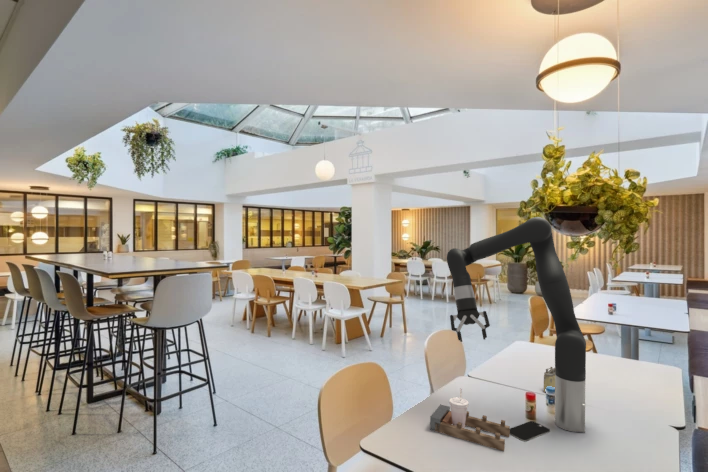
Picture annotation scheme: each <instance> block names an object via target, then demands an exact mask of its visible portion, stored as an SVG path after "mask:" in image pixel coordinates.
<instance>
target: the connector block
mask: <svg viewBox="0 0 708 472" xmlns="http://www.w3.org/2000/svg"><path fill="white" fill-rule="evenodd" d="M449 411H451V406H450V405H449V406H448V405H445V404H440V405H439V406H438V407H437V408H436V409H435V411H433V413H432V414H431V415H430V417H429V419H430V420H429V421H430V422H429V430H430V431H433V432H436V431H435V427H436V426H437V425H440V423H441V422H442V420H443V419H444V418H445V416H446V415H447V414H448V412H449ZM435 423H436V426H435ZM437 423H438V424H437ZM437 428H438V427H437ZM438 429H439V428H438ZM438 431H439V430H438ZM438 433H440V432H438Z"/></svg>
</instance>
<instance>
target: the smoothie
mask: <svg viewBox="0 0 708 472" xmlns="http://www.w3.org/2000/svg"><path fill="white" fill-rule="evenodd" d="M462 390H463V388H459V397H457V396H456V397H451V398H449V406H450V411H451V415H452V425H455V426H457V423H458V422H460V423H462V428H465V427H466V426H465V421H466V414H467V411H468V407H469V406H470V405H469V401H468V400H467V399H466V398H463V397H462V393H463V391H462ZM465 429H466V428H465Z"/></svg>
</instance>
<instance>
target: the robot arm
mask: <svg viewBox="0 0 708 472" xmlns="http://www.w3.org/2000/svg"><path fill="white" fill-rule="evenodd" d="M552 231H553V230H552V225H551V223H550V221H548V220H547V219H546V218H544V217H540V216H535V217H531V218H529V219H527V220H525V222H522V224H519V225H518V226H516V227H513V228H512V229H510V230H507V231H505V232H502V233H499V234H496V235H493V236H489V237H487V238H484V239H481V240H478V241H475V242H473V243H471V244H470V245H469V247H466V248H465V249H459V248H451V249H450V250H449V251H448V252H447V254H446V263H447V267H448V270H449V272H450V274H451V277H452V278H451V279H452V283H453V290H454V291H453V292H454V293H453V294H454V299H455V304H456V312H457V314H451V315H449V317H450V318H449V319H450V329H451V330H452V331H453V332H456V335H457V340H458V341H459V342H461V343H462V342H463V337H462V332H461V330H462V328H463V326H464V325H465V326H469V325H474V324H477V325H478V327H480V328H481V334H482V338H483V340H484V341H485V340H486V338H488V337H487V328H489V327H490V325H491V324H490V320H489V318H488V313H487V311H486V310H484V311H479V310H478V306H477V301H476V295H475V292H474V288H473V285H472V283H473V282H472V280H471V279H472V278H471V275H470V273H469V272H468V270H467V267H468V266H470V265H471V264H473V263H476V262H477V261H479V260H483V259H486V258H489V257H492V256H494V255H496V254H499V253H501V252H504V251H505V250H508V249H510V248H514V247H517V246H519V245H525V244H530V247H531V249H532V252H533V254H534V259H535V268H536V276H537V280H538V281H537V282H538V285H539V288H540V292H541V295H542V297H543V300H544V302H545V304H546V306H547V309H548V310H549V313H550V314H551V317H552V319H553V322H554V323H553V324H554V328H555V334H556V339H555V342H554V368H555V392H554V424H555V425H556V426H557V427H558V428H560V429H562V430H565V431H567V432H568V431H569V432H574V433H586V375H587V373H586V370H587V369H586V361H587V353H586V352H587V341H586V339H585V336H584V335H583V332H582V330H581V327H580V325H579V322H578V320H577V317H576V314H575V309H574V303H573V297H572V293H571V289H570V286H569V283H568V277H567V276H566V273H565V271H564V267H563V265H562V263H561V261H560V258H559V256H558V254H557V251H556V247H555V243H554V235H553V232H552ZM480 316H481V317H482V318H483V319H484V322H485V324H483V323H482V322H481V321H480V320H479V317H480ZM457 319H458V320H459V321H460V322H459V324H458V326H457V327H455V321H456V320H457Z"/></svg>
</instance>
